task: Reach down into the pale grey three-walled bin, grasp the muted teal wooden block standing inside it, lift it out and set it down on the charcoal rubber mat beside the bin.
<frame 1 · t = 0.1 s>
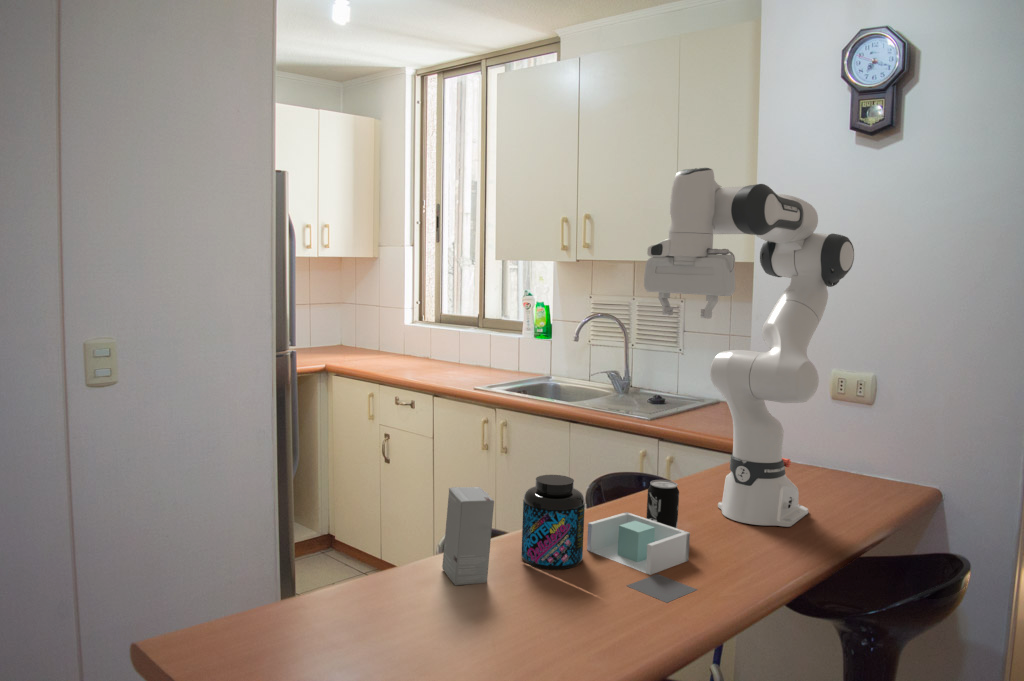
hand: (686, 316, 159), 48 cm above the countertop, fingers open, 8 cm apart
block: (635, 555, 155), resting on bin
bin: (636, 557, 156), on the countertop
mat: (661, 589, 140), on the countertop
skincare box: (466, 577, 143), on the countertop
container: (551, 561, 152), on the countertop
beverage can: (661, 539, 167), on the countertop
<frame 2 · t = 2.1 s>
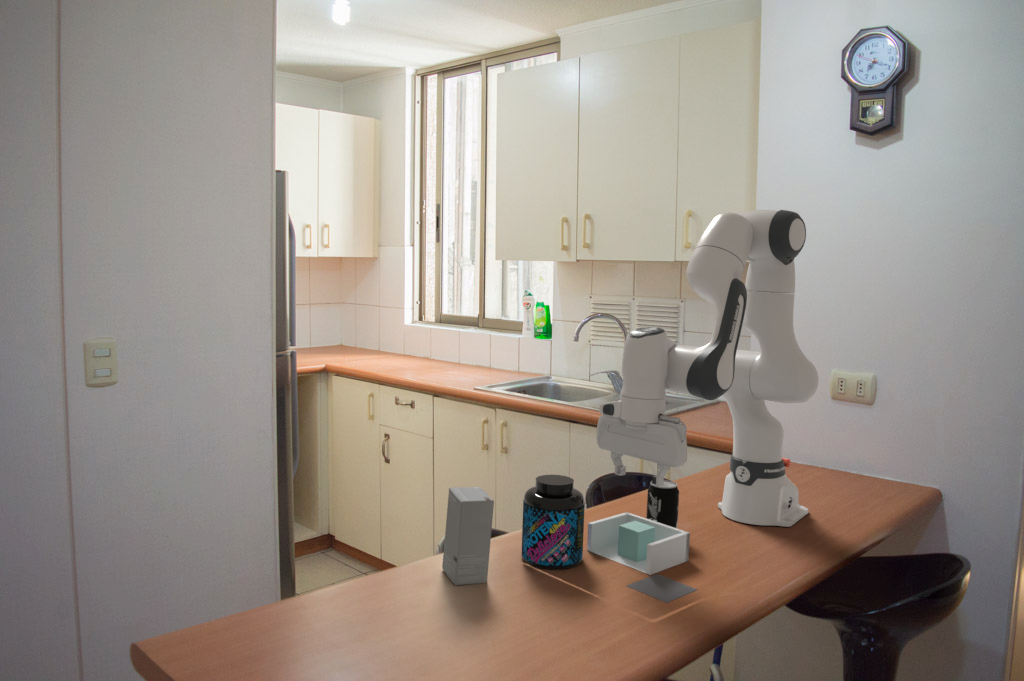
hand: (638, 479, 154), 16 cm above the countertop, fingers open, 8 cm apart
nothing on the countertop moved.
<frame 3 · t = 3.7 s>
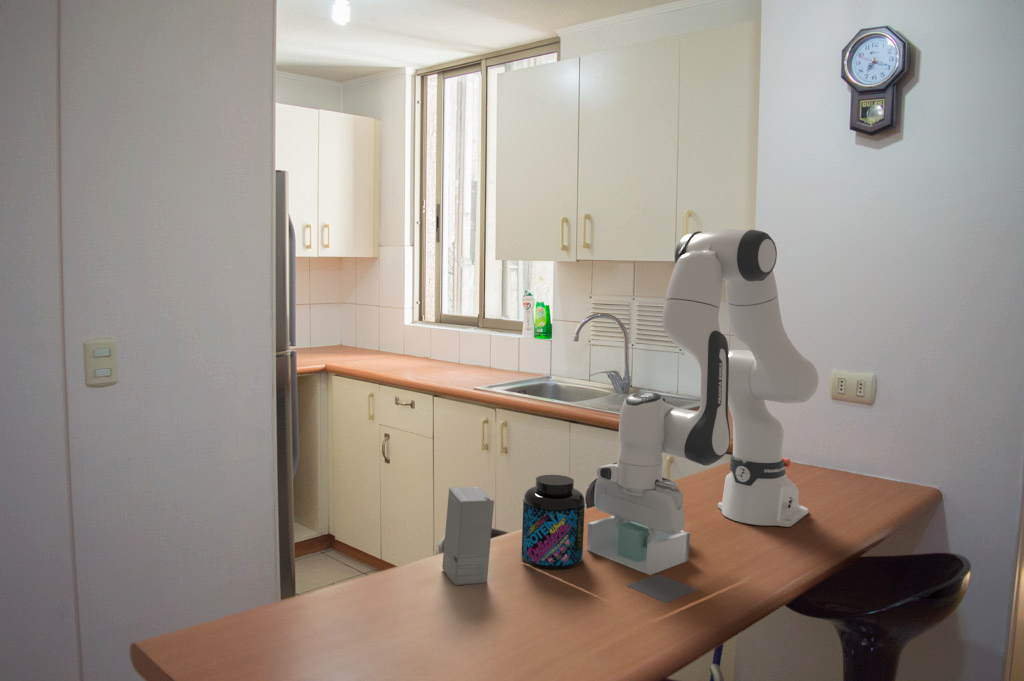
hand: (636, 543, 155), 3 cm above the countertop, fingers closed on block, 5 cm apart
block: (635, 555, 155), resting on bin, touching gripper
everything else where it was.
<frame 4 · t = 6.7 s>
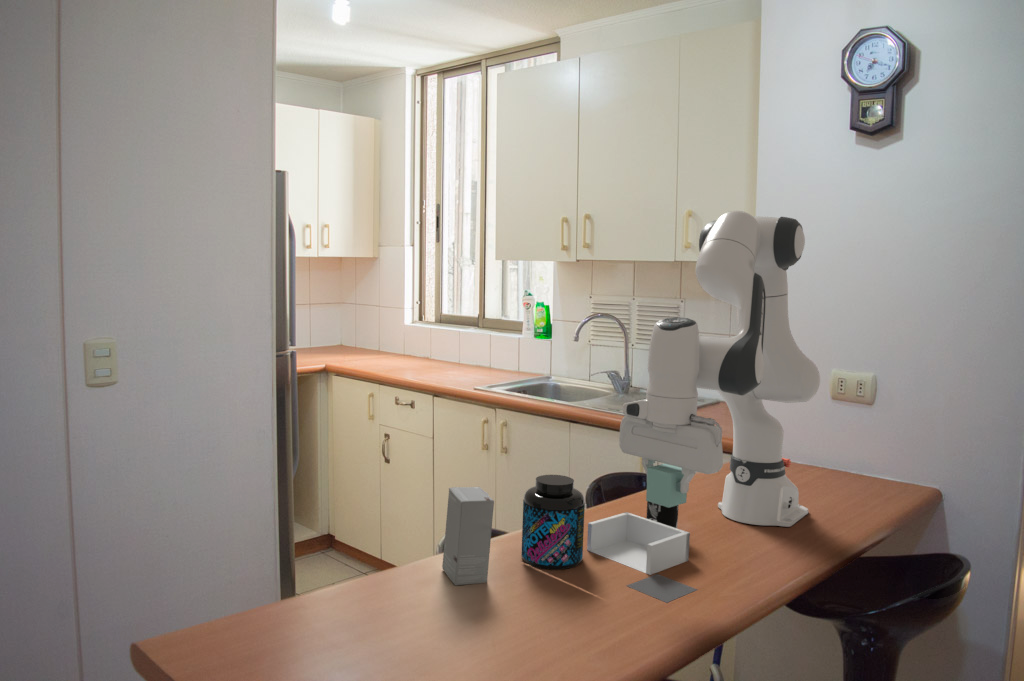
hand: (667, 487, 138), 19 cm above the countertop, fingers closed on block, 5 cm apart
block: (666, 501, 138), point 16 cm above the countertop, touching gripper
everything else where it was.
when the fingers open (4 cm above the countertop, at t = 9.7 s): block stays where it is, resting on mat.
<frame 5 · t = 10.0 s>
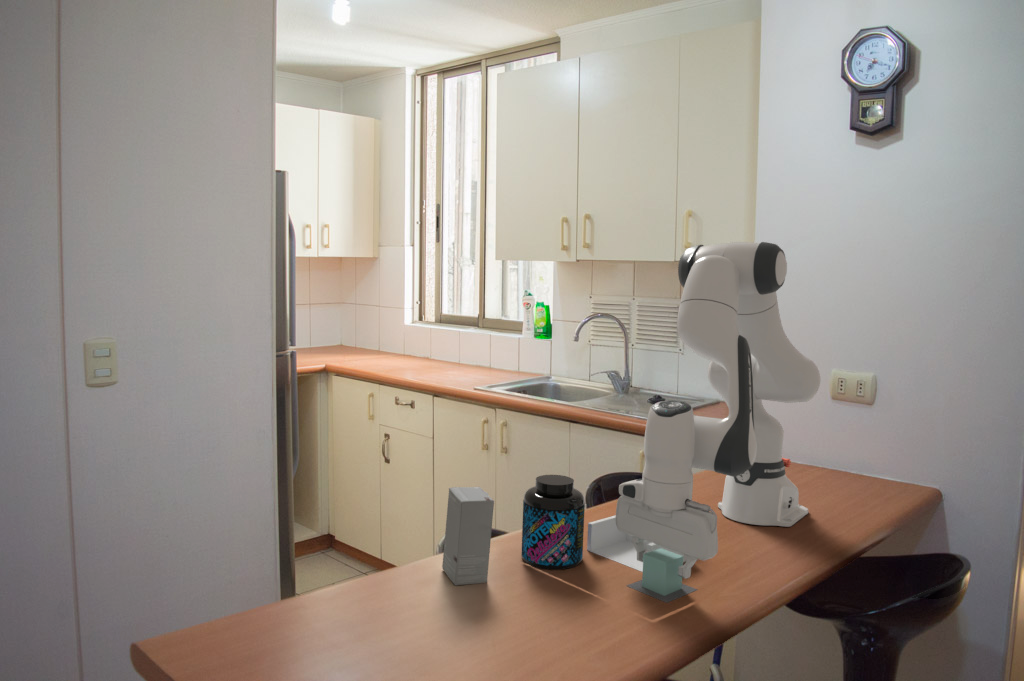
hand: (662, 568, 140), 4 cm above the countertop, fingers open, 8 cm apart
block: (661, 587, 140), resting on mat
everything else where it was.
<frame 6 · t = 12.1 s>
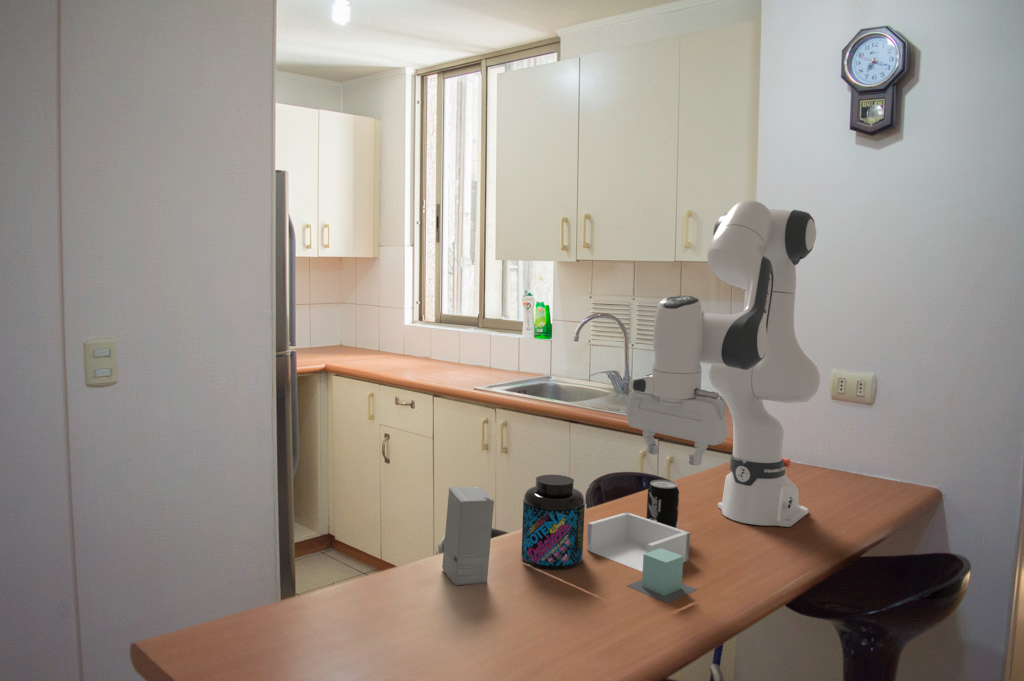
hand: (673, 459, 144), 22 cm above the countertop, fingers open, 8 cm apart
nothing on the countertop moved.
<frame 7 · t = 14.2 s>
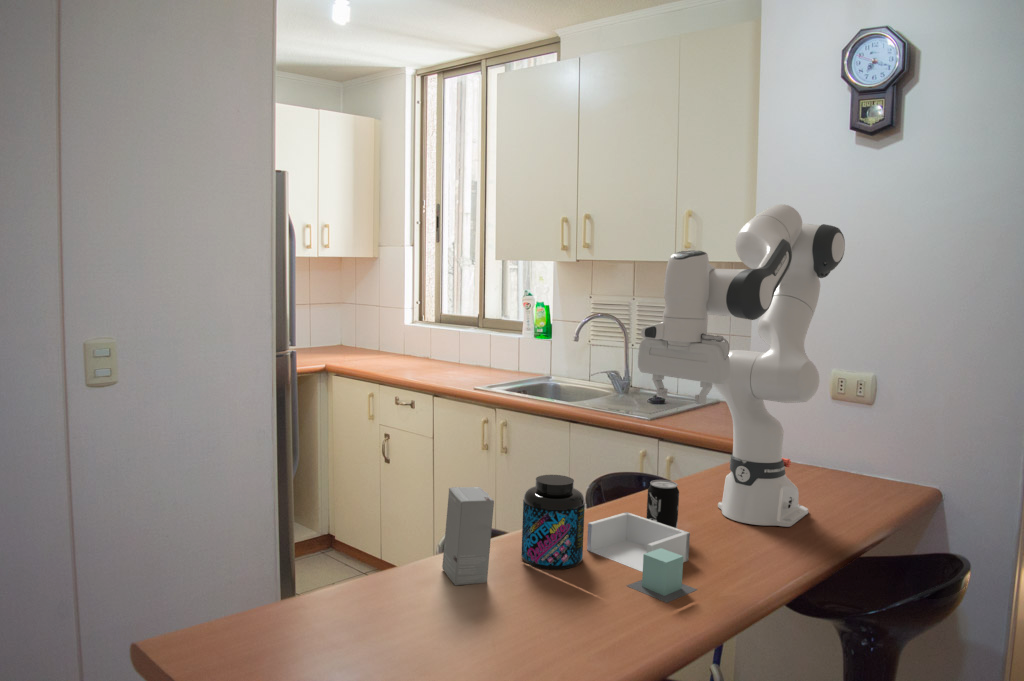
hand: (680, 400, 157), 31 cm above the countertop, fingers open, 8 cm apart
nothing on the countertop moved.
at the end: block 0.0 cm from the mat (horizontally); block resting on mat; block tilted 0° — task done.
